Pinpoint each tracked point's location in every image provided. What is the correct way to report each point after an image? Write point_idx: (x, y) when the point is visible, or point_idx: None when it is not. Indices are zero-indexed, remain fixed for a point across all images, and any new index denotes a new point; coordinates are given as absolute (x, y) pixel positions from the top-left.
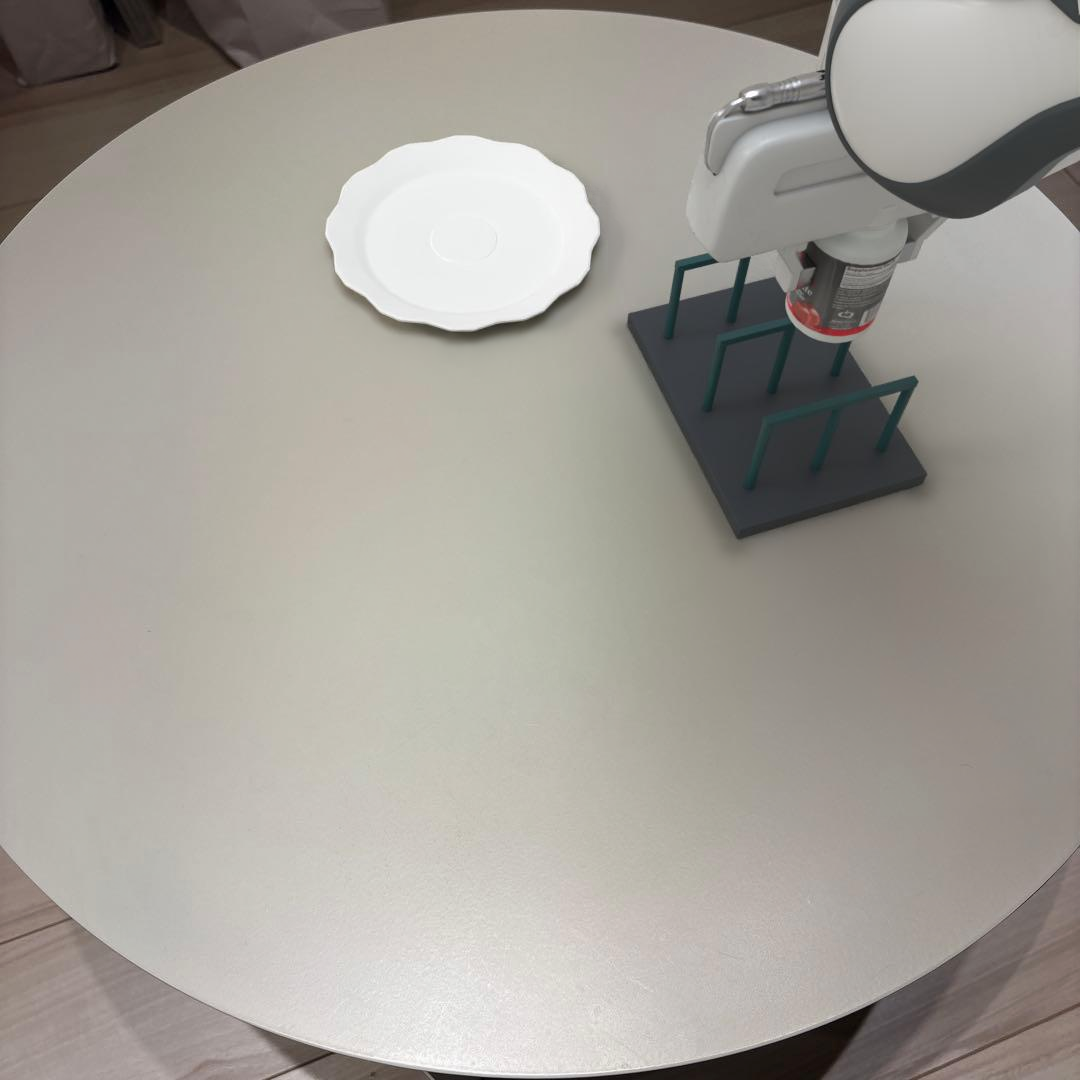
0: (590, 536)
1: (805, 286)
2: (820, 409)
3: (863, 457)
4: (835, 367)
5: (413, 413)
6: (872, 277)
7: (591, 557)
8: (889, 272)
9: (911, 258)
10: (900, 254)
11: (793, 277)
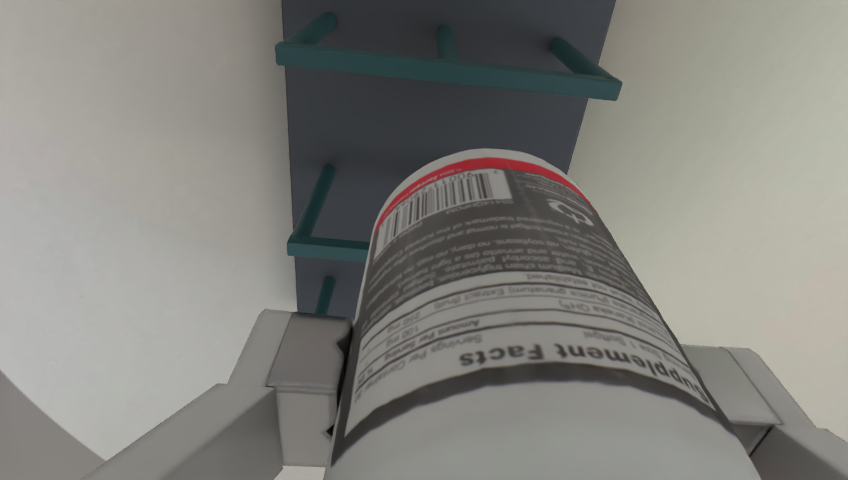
0: (780, 74)
1: (691, 348)
2: (506, 69)
3: (365, 15)
4: (331, 175)
5: (800, 308)
6: (575, 313)
7: (808, 41)
8: (467, 306)
9: (280, 318)
10: (406, 374)
11: (792, 404)
